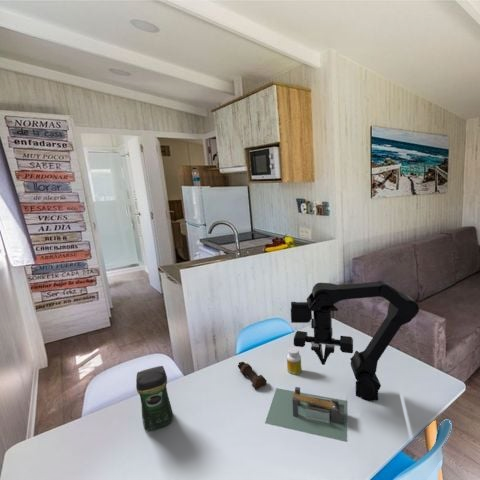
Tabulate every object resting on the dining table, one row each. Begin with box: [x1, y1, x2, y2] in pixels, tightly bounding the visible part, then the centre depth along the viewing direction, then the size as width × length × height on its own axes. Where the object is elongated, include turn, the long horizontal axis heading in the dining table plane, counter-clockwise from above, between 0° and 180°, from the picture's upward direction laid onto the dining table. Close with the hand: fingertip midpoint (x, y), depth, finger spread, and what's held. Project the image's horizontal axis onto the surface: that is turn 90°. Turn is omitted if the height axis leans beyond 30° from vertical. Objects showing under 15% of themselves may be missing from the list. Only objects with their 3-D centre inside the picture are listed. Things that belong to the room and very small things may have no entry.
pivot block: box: [331, 400, 344, 425], centre depth 90 cm, size 4×4×4 cm
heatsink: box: [306, 395, 331, 425], centre depth 93 cm, size 7×7×3 cm
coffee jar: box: [135, 365, 174, 432], centre depth 95 cm, size 10×8×19 cm
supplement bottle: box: [286, 347, 302, 376], centre depth 114 cm, size 5×5×10 cm
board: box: [264, 387, 348, 442], centre depth 94 cm, size 24×16×1 cm, turn 70°
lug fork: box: [292, 386, 301, 417], centre depth 95 cm, size 2×6×6 cm, turn 160°
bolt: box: [237, 361, 268, 391], centre depth 113 cm, size 6×5×15 cm
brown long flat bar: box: [292, 393, 337, 409], centre depth 92 cm, size 14×3×1 cm, turn 70°
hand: (323, 364), depth 99 cm, fingers closed
